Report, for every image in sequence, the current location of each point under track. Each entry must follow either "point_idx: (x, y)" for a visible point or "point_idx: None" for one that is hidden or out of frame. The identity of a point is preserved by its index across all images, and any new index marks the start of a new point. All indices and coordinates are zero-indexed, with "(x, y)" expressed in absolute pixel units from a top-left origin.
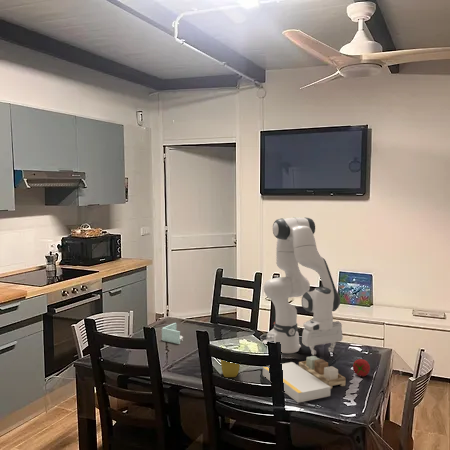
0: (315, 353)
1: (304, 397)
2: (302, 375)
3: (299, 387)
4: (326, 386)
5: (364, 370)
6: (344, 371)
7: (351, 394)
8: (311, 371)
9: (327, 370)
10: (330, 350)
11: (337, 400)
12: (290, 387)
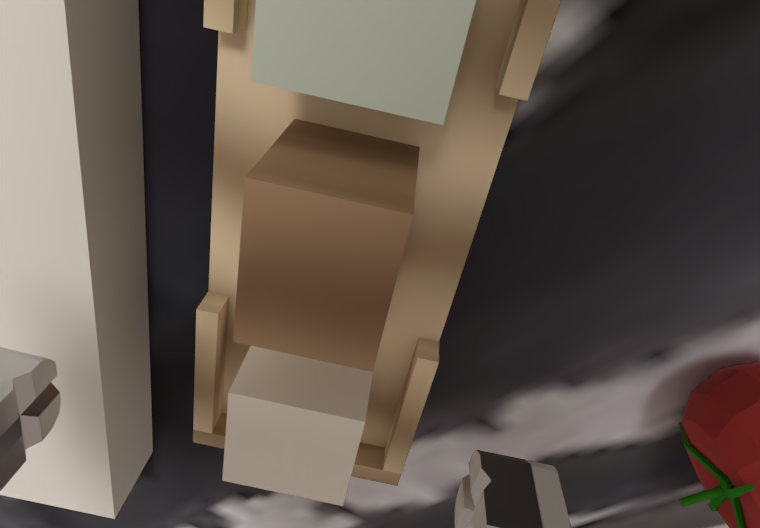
0: (22, 434)
1: None
2: None
3: None
4: (83, 500)
5: (721, 512)
6: (733, 236)
7: (314, 511)
8: (240, 111)
9: (228, 437)
10: (462, 524)
11: (159, 502)
12: None
